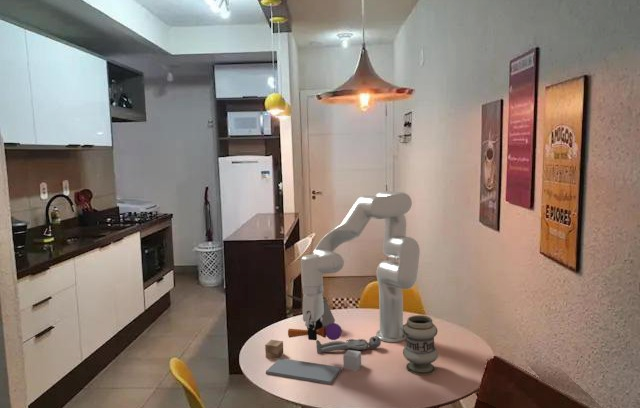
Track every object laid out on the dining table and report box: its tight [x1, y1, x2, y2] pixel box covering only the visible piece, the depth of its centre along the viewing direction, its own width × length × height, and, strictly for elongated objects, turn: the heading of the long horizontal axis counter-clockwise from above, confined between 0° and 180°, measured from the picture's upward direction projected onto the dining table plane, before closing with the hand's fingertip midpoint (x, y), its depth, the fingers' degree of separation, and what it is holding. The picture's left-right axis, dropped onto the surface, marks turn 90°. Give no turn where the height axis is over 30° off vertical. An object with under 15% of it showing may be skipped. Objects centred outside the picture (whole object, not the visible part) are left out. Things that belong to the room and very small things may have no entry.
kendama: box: [287, 322, 343, 341], centre depth 172 cm, size 6×6×20 cm
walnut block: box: [264, 339, 284, 360], centre depth 177 cm, size 5×5×5 cm
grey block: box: [342, 349, 362, 372], centre depth 166 cm, size 5×5×5 cm
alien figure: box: [315, 335, 382, 354], centre depth 181 cm, size 8×5×25 cm
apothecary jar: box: [402, 314, 439, 376], centre depth 162 cm, size 12×12×18 cm
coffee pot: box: [285, 294, 336, 327], centre depth 204 cm, size 21×12×15 cm, turn 87°
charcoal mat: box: [265, 357, 342, 385], centre depth 163 cm, size 24×11×1 cm, turn 68°
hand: (315, 335), depth 172 cm, fingers closed on kendama, 5 cm apart
